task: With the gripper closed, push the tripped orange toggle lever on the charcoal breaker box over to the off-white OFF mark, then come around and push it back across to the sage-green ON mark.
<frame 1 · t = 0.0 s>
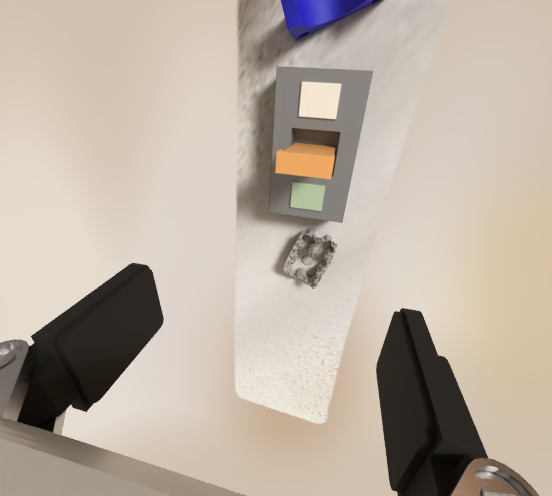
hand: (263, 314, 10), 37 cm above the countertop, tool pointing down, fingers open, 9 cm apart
breaker box: (316, 148, 42), on the countertop
egg carton: (310, 252, 51), on the countertop
breaker lever: (310, 156, 34), point 9 cm above the countertop, hinge at 0.0°
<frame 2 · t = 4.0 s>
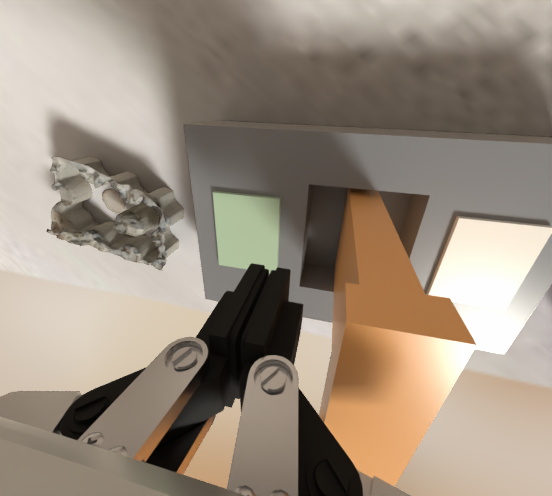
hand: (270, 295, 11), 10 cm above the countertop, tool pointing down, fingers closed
breaker box: (352, 216, 19), on the countertop
egg carton: (134, 205, 24), on the countertop
breaker lever: (359, 283, 12), point 9 cm above the countertop, hinge at -0.8°, touching gripper
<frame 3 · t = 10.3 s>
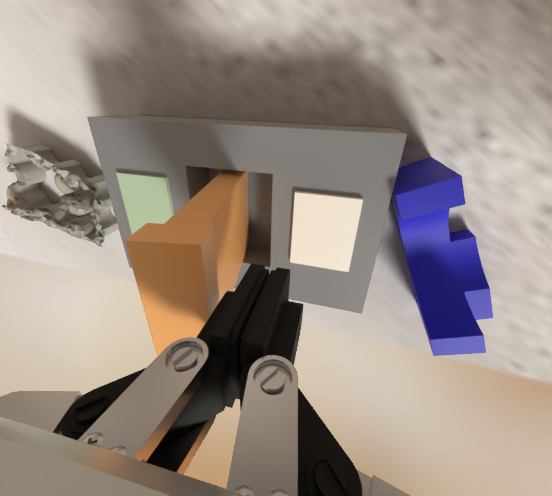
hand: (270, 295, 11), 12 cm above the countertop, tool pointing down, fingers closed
breaker box: (253, 198, 22), on the countertop
cable clip: (432, 234, 20), on the countertop
egg carton: (82, 189, 28), on the countertop
breaker lever: (218, 243, 15), point 9 cm above the countertop, hinge at -11.8°, touching gripper
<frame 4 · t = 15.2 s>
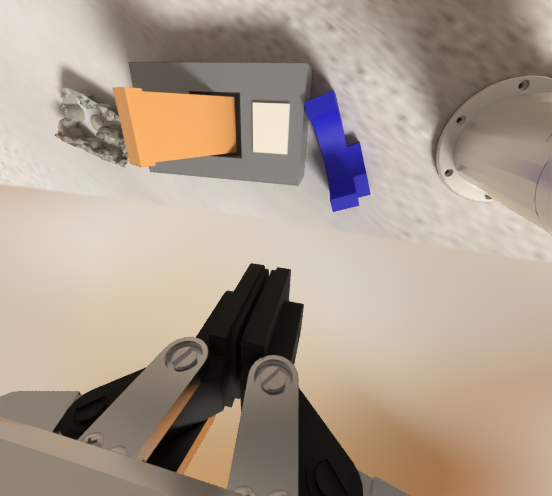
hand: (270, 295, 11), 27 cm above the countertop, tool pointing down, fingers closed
breaker box: (232, 123, 34), on the countertop
cable clip: (340, 147, 33), on the countertop
egg carton: (110, 127, 39), on the countertop
breaker lever: (187, 126, 28), point 8 cm above the countertop, hinge at 27.7°
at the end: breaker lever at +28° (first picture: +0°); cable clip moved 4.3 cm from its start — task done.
